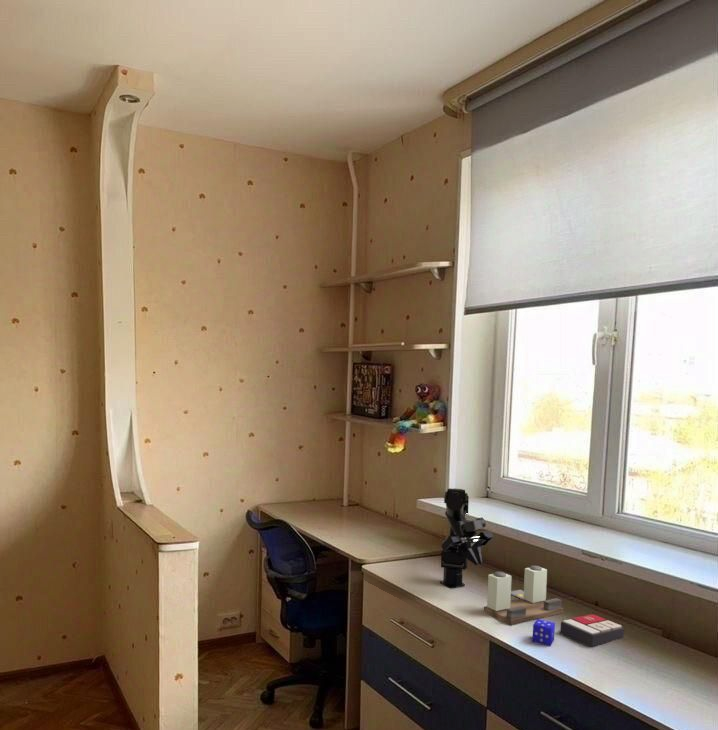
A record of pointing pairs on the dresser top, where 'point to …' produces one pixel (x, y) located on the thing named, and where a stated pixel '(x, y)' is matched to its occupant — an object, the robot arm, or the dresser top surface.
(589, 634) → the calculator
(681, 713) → the dresser top surface
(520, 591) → the card
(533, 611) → the wooden base plate
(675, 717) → the dresser top surface
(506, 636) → the dresser top surface
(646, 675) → the dresser top surface
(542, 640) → the die
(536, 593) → the button
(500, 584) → the button
